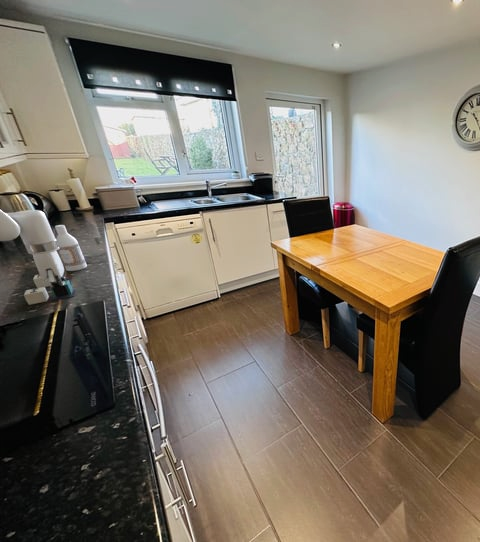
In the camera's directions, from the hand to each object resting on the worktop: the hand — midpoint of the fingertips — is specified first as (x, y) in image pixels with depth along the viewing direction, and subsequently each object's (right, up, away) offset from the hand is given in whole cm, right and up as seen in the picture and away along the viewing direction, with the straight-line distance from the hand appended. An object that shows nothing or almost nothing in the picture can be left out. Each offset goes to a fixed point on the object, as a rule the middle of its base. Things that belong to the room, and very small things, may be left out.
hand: (63, 292), depth 105 cm
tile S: (0, 0, 0) cm, 0 cm away
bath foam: (-18, +9, +23) cm, 31 cm away
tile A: (-15, +3, +8) cm, 17 cm away
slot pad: (0, -1, 0) cm, 1 cm away
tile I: (-5, -3, -3) cm, 7 cm away
